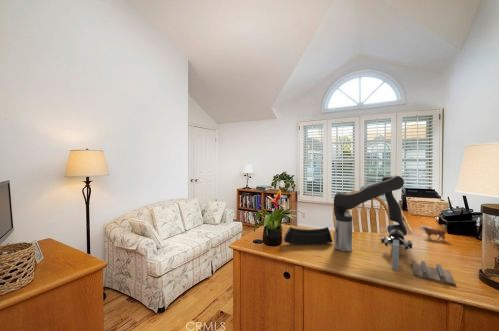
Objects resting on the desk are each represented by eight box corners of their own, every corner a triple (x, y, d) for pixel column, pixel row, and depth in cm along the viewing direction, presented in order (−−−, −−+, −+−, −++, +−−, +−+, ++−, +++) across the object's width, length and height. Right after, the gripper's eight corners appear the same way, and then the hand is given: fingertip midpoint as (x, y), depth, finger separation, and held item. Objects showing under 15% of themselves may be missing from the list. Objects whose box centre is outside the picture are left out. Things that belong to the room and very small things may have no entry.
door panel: (392, 268, 106) (392, 244, 106) (392, 262, 113) (393, 239, 113) (398, 270, 105) (398, 245, 105) (398, 263, 112) (399, 240, 111)
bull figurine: (419, 235, 152) (419, 224, 152) (445, 240, 144) (445, 227, 144) (419, 237, 149) (420, 225, 148) (446, 242, 141) (446, 229, 141)
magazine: (334, 228, 141) (290, 215, 138) (336, 230, 137) (291, 217, 135) (326, 254, 141) (282, 241, 139) (328, 256, 138) (283, 243, 135)
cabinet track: (413, 276, 100) (413, 269, 100) (412, 264, 110) (412, 258, 110) (455, 286, 92) (455, 279, 92) (449, 272, 103) (449, 266, 102)
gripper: (382, 228, 135) (380, 236, 121) (411, 233, 127) (412, 242, 113) (382, 241, 135) (380, 250, 122) (411, 246, 127) (412, 256, 114)
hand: (396, 246), depth 118 cm, fingers open, 8 cm apart
